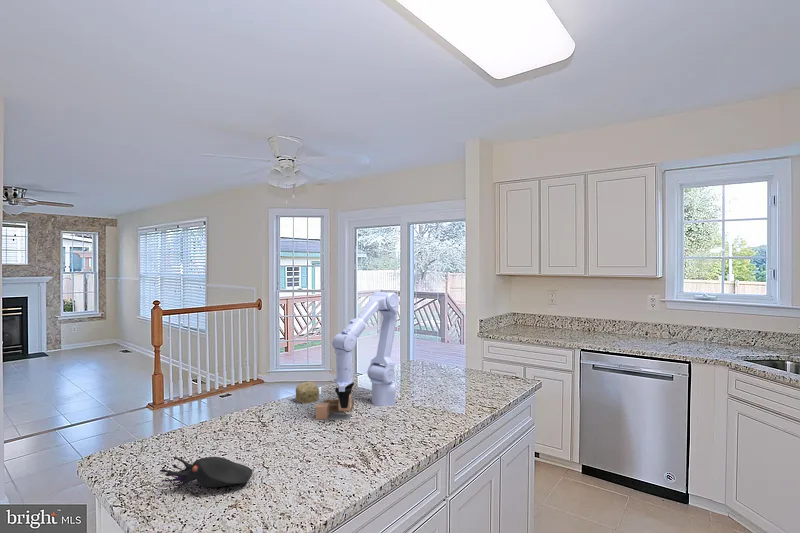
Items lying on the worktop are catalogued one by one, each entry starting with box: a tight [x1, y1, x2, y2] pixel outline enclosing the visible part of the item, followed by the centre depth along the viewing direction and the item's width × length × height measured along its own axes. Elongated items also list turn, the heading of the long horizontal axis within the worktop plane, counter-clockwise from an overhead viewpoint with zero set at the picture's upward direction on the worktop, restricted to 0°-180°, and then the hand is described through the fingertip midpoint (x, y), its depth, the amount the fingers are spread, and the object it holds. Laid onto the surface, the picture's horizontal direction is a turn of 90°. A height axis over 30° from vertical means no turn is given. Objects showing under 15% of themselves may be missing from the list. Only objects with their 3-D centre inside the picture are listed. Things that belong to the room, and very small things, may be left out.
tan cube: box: [315, 402, 330, 420], centre depth 151 cm, size 4×4×4 cm
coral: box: [295, 380, 320, 404], centre depth 170 cm, size 9×9×8 cm
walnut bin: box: [323, 398, 355, 413], centre depth 160 cm, size 11×7×3 cm, turn 89°
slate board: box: [315, 413, 353, 421], centre depth 151 cm, size 12×6×1 cm, turn 89°
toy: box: [159, 456, 253, 488], centre depth 108 cm, size 10×21×10 cm, turn 95°
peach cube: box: [337, 393, 352, 411], centre depth 151 cm, size 4×4×4 cm
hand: (345, 405), depth 151 cm, fingers closed on peach cube, 4 cm apart
